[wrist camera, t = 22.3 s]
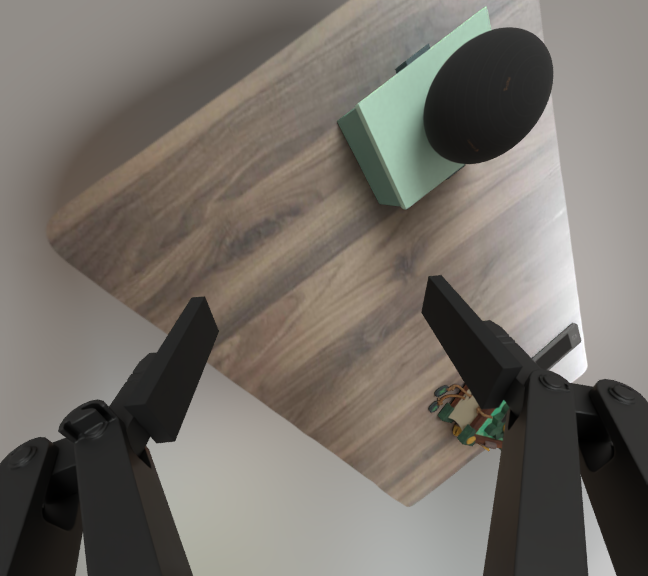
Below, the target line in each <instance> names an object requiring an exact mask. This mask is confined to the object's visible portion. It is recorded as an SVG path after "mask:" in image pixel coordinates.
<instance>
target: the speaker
mask: <svg viewBox="0 0 648 576" xmlns="http://www.w3.org/2000/svg"><path fill="white" fill-rule="evenodd" d="M552 84H553V65H552V60H551V56H550V54H549V51H548V49H547V47H546V46H545V44H544V43H543V42H542V41H541V40H540V39H539V38H538V37H537V36H536V35H534V34H533V33H531V32H529V31H526V30H523V29H519V28H499V29H494V30H490V31H487V32H485V33H482V34H480V35H478V36H476V37H474V38H472V39H471V40H469V41H468V42H466V43H465V44H463V45H462V46H461V47H460V48H458V49H457V50H456V51H455V52H454V53H453V54H452V55H451V56H450V57H449V58H448V59H447V60H446V62H445V63H444V64H443V65H442V67H441V68H440V70H439V71H438V73H437V74H436V76H435V78H434V80H433V82H432V84H431V86H430V88H429V91H428V94H427V97H426V101H425V105H424V113H423V122H424V130H425V134H426V137H427V139H428V141H429V143H430V145H431V146H432V148H433V149H434V150H435V151H436V152H437V153H438V154H439V155H440V156H441V157H443V158H445V159H447V160H449V161H451V162H454V163H459V164H476V163H481V162H485V161H488V160H491V159H493V158H496V157H498V156H500V155H502V154H504V153H505V152H507V151H508V150H510V149H511V148H513V147H514V146H515V145H516V144H518V143H519V142H520V141H521V140H522V139H523V138H524V137H525V136H526V135H527V134H528V133H529V132H530V131H531V129H532V128H533V127H534V126H535V124H536V123H537V121H538V120H539V118H540V117H541V115H542V113H543V111H544V109H545V107H546V105H547V102H548V100H549V97H550V93H551V89H552Z"/></svg>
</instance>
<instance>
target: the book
mask: <svg viewBox="0 0 648 576" xmlns="http://www.w3.org/2000/svg"><path fill="white" fill-rule="evenodd" d="M455 387H457V388H459V389H460V390H461V392H460V393H459V394H458V395H454V394H449V395H445V396H444V397H442V398H441V399H440V398H438V400H439V401H435V402H434V403H433V404H432V405H431V406H430V407H429V411H430V412H435V411H436V410H437V409H438V408H439V405H442V404H443V403H442V401H443V400H444V399H446V398H448V397H456V398H455V400H454V401H453V402H452V404H449V403H447V404H446V405H445V406H444V408H443V409H442V410H441V412H440V413H439V414H438V416H439V418H440V419H441V420H442V421H445V422H449V423H452V422H453V421H454V422H457V423H458V424H456V425H454V428H453V434H454V435H455V436H458V435H459V434H460V435H459V436H458V437H457V438H458V440H459V441H460V442H461V443H462V444H464V445H469V446H473V445H474V444H475V443H478V444H479V445H481V446H482V447H484V448H485V449H486V450H488V451H490V450H489V448H492V449H496V447H497V448H499V449H500V450H502V443H503V436H504V429H505V423H502V422H501V421H502V419H503V417H504V415H505V414H506V412H507V411H508V409H509V406H508V405H507V403H506V402H505V401H504V400H503V402H502V403H501V405H500V407H499V408H494V409H484V410H481V408H480V406H479V405H478V403H477V402H476V400H475V398H474V397H473V395H472V394H471V392H470V390H469V389H468V387H467V385H465V386H464V388H462V387H460V386H458V385H456V384H455V385H453V386H450V388H449V387H448V386H446V385H444V386H442V387H440V388H439V389H438V390H436V392H435V396H436V397H439V396H441V395H443V394H444V393H446V392H447V391H450V390H452V391H453V390H454V389H455ZM505 422H506V421H505ZM457 428H458V429H457ZM456 429H457V431H456Z"/></svg>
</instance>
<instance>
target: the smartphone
mask: <svg viewBox="0 0 648 576" xmlns="http://www.w3.org/2000/svg"><path fill="white" fill-rule="evenodd" d="M580 342H581V338H580V334H579V330H578V326H577V324H575V323H572V324H571V325H570V326H569V327H568V328H567V329H565V330H564V331H563V332H562V333H561V334H560V335H559V336H557V337H556V338H555V339H554V340H553V341H552V342H551V343H549V344H548V345H547V346H546V347H545V348H544V349H543V350H541V351H540V352H539V353H538V354H537V355H536V356H535V357H533V358H532V360H533V361H534V362H535V363H536V364H537V365H538V366H539V367H540V368H541V369H545V370H549V369H551V368H552V367H553V366H554V365H555V364H556V363H557V362H559V361H560V360H561V359H562V358H563V357H564V356H565V355H567V354H568V353H569V352H570V351H571V350H572V349H574V348H575V347H576V346H577V345H578V344H579V343H580Z"/></svg>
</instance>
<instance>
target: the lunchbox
mask: <svg viewBox="0 0 648 576" xmlns="http://www.w3.org/2000/svg"><path fill="white" fill-rule="evenodd" d="M490 30H491V26H490V21H489V16H488V11H487V6H485V7H484V8H483V9H481V10H480V11H479V12H477V13H476V14H475V15H473V16H472V17H471V18H469V19H468V20H467V21H466V22H464V23H463V24H462V25H460V26H459V27H458V28H456V29H455V30H454V31H452V32H451V33H450V34H449V35H447V36H446V37H445V38H443V39H442V40H441V41H439V42H438V43H437V44H435V45H434V46H433V47H431V48H430V46H429V44H427V45H426V46H425V47H423V48H422V49H421V50H419V51H418V52H417V53H415V54H414V55H413V56H412V57H410V58H409V59H408V60H406V61H405V62H404V63H402V64H401V65H400V66H399V67H397V68H396V69H395V70H396V73H397V74H396V75H395V76H394V77H392V78H391V79H390V80H388V81H387V82H386V83H384V84H383V85H382V86H380V87H379V88H378V89H377V90H375V91H374V92H373V93H371V94H370V95H369V96H367V97H366V98H365V99H363V100H362V101H361V102H359V103H358V104H357V105H356V106H355V108H354V109H352V110H351V111H350V112H348V113H347V114H346V115H344V116H343V117H342V118H340V119H339V120H338V121H337V122H338V124H339V126H340V128H341V130H342V132H343V134H344V136H345V138H346V140H347V142H348V144H349V146H350V148H351V150H352V151H353V153H354V155H355V157H356V159H357V161H358V163H359V165H360V167H361V169H362V171H363V173H364V175H365V177H366V179H367V181H368V183H369V185H370V187H371V189H372V191H373V193H374V195H375V197H376V199H377V201H378V202H379V204H384V205H393V206H401V207H402V209H408V208H409V207H410V206H412V205H413V204H414V203H416V202H417V201H418V200H419V199H421V198H422V197H423V196H425V195H426V194H427V193H428V192H430V191H431V190H432V189H434V188H435V187H436V186H438V185H439V184H440V183H441V182H443V181H444V180H447V179H449V178H450V177H451V176H452V175H454V174H455V173H456V172H458V171H459V170H460V169H461V168H463V167H464V166H465V164H459V163H454V162H451V161H449V160H447V159H445V158H443V157H441V156H440V155H439V154H438V153H437V152H436V151H435V150H434V149H433V148H432V146H431V145H430V143H429V141H428V139H427V137H426V134H425V130H424V122H423V113H424V105H425V101H426V97H427V94H428V91H429V88H430V86H431V84H432V82H433V80H434V78H435V76H436V74H437V73H438V71H439V70H440V68H441V67H442V65H443V64H444V63H445V62H446V60H447V59H448V58H449V57H450V56H451V55H452V54H453V53H454V52H455V51H456V50H457V49H458V48H460V47H461V46H462V45H463V44H465V43H466V42H468V41H469V40H471V39H472V38H474V37H476V36H478V35H480V34H482V33H485V32H487V31H490Z"/></svg>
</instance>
